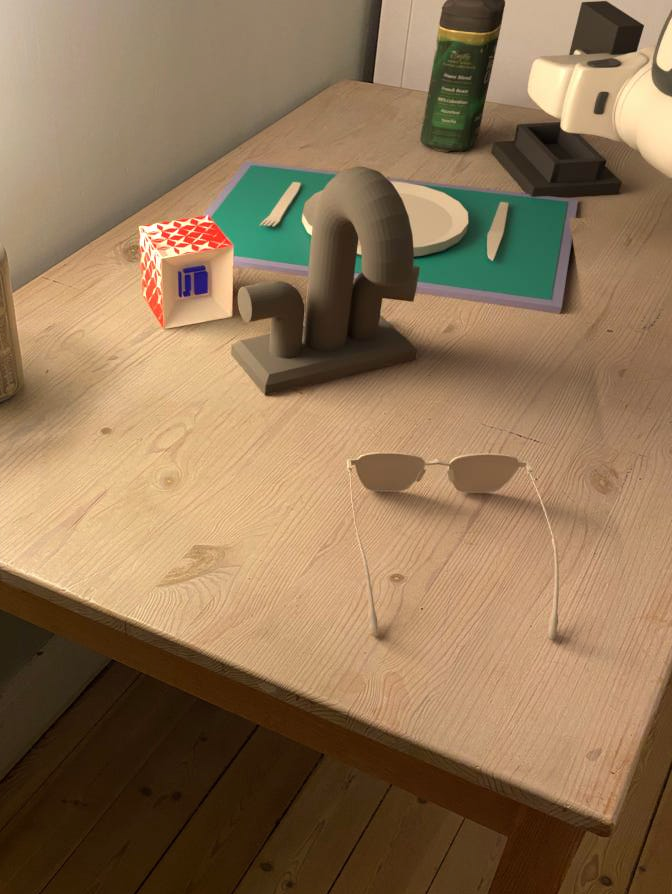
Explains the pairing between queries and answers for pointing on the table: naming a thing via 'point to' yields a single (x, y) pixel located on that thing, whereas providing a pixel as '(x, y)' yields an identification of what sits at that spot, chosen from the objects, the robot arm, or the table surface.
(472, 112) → the coffee jar
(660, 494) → the table surface
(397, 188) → the place mat
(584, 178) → the base pad
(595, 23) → the upright pad
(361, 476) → the eyeglasses
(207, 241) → the patterned open box
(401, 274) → the faucet
